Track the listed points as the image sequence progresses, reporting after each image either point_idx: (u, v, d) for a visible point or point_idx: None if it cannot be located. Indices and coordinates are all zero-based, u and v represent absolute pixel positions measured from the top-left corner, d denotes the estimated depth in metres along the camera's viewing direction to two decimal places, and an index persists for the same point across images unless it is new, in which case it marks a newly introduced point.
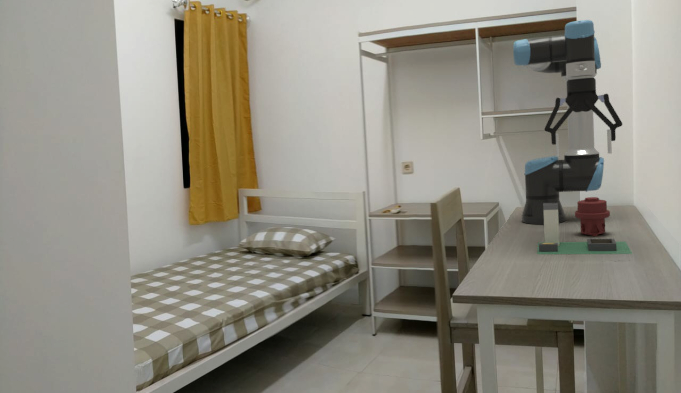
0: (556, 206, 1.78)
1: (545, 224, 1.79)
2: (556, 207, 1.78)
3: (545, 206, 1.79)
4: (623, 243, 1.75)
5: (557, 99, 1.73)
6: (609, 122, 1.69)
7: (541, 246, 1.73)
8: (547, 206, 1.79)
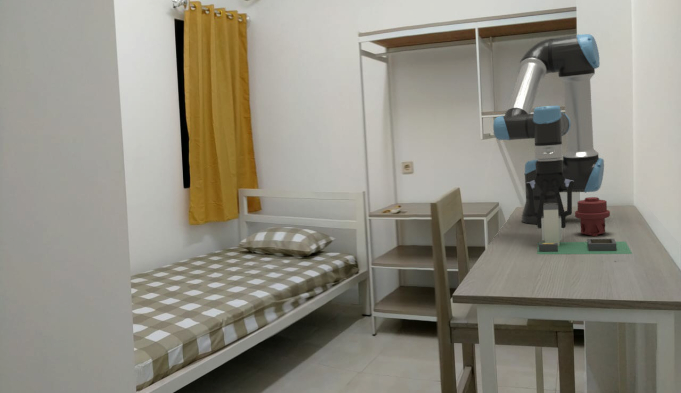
0: (556, 206, 1.78)
1: (545, 224, 1.79)
2: (556, 207, 1.78)
3: (545, 206, 1.79)
4: (623, 243, 1.75)
5: (527, 184, 1.80)
6: (562, 209, 1.78)
7: (541, 246, 1.73)
8: (547, 206, 1.79)
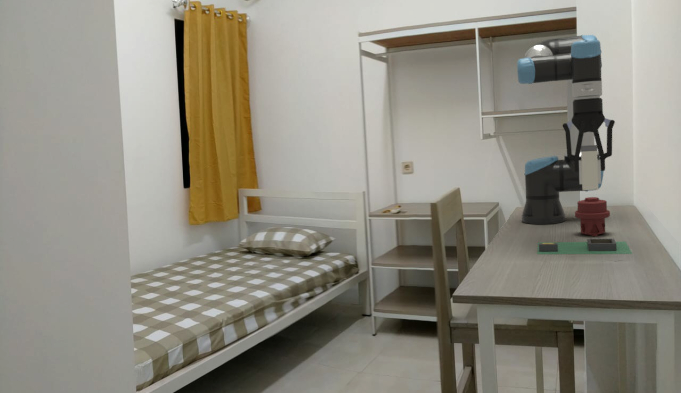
0: (595, 147, 1.67)
1: (583, 167, 1.69)
2: (595, 148, 1.67)
3: (583, 147, 1.68)
4: (623, 243, 1.75)
5: (564, 125, 1.70)
6: (601, 151, 1.68)
7: (541, 246, 1.73)
8: (585, 147, 1.68)
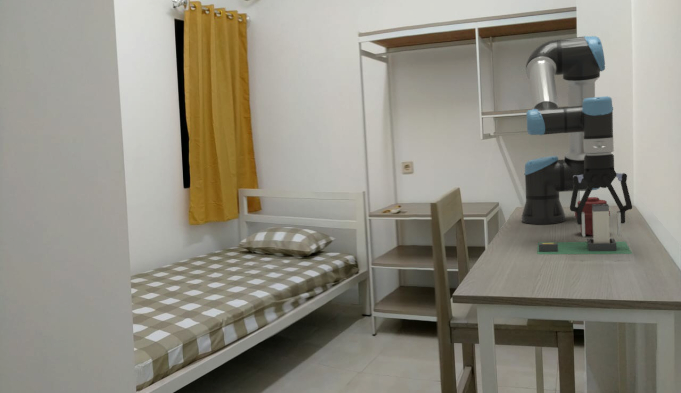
0: (607, 207, 1.68)
1: (595, 226, 1.70)
2: (607, 208, 1.68)
3: (595, 207, 1.69)
4: (623, 243, 1.75)
5: (574, 177, 1.70)
6: (620, 204, 1.68)
7: (541, 246, 1.73)
8: (597, 207, 1.69)
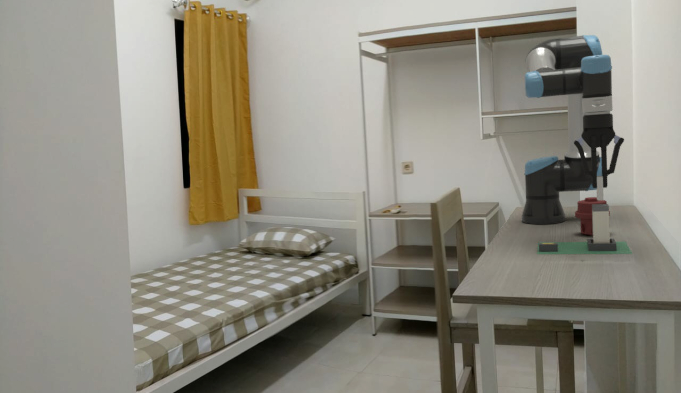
0: (607, 207, 1.68)
1: (595, 226, 1.70)
2: (607, 208, 1.68)
3: (595, 207, 1.69)
4: (623, 243, 1.75)
5: (575, 142, 1.69)
6: (605, 167, 1.67)
7: (541, 246, 1.73)
8: (597, 207, 1.69)
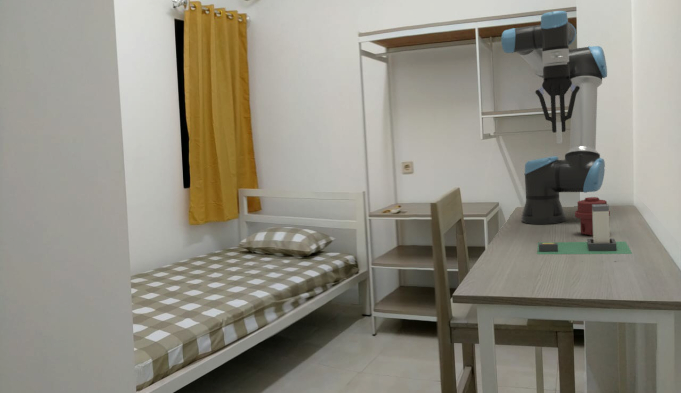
0: (607, 207, 1.68)
1: (595, 226, 1.70)
2: (607, 208, 1.68)
3: (595, 207, 1.69)
4: (623, 243, 1.75)
5: (536, 91, 1.87)
6: (563, 113, 1.86)
7: (541, 246, 1.73)
8: (597, 207, 1.69)
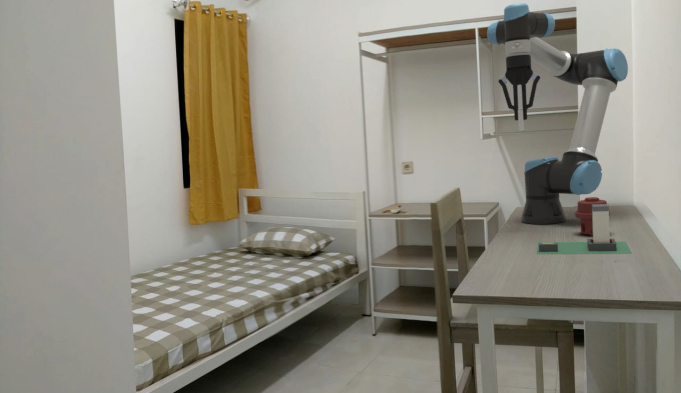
0: (607, 207, 1.68)
1: (595, 226, 1.70)
2: (607, 208, 1.68)
3: (595, 207, 1.69)
4: (623, 243, 1.75)
5: (499, 81, 1.95)
6: (524, 102, 1.94)
7: (541, 246, 1.73)
8: (597, 207, 1.69)
